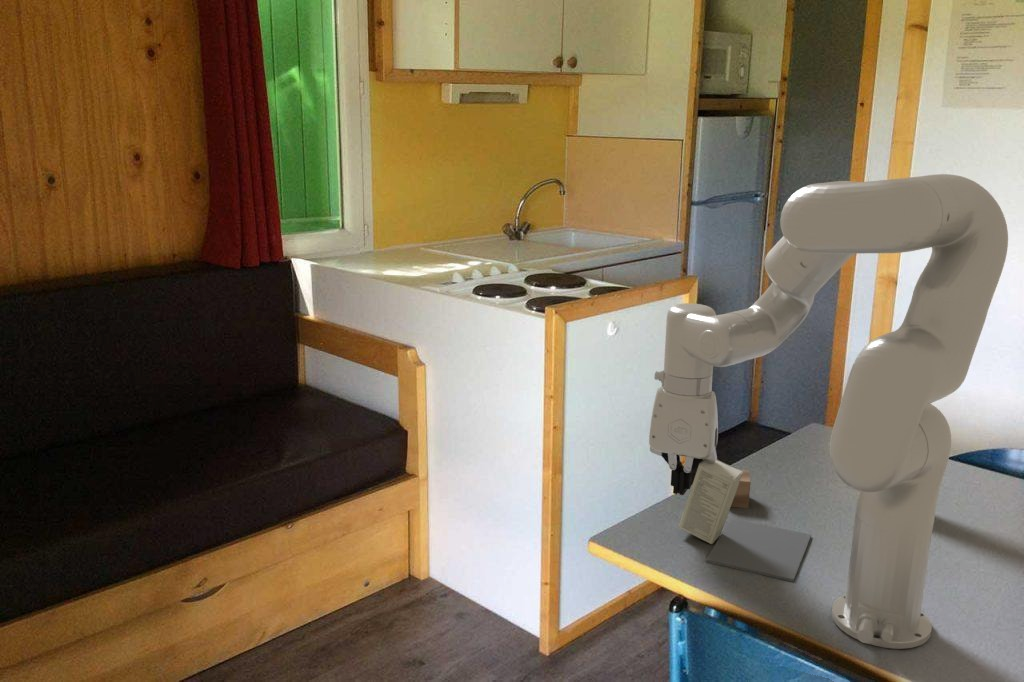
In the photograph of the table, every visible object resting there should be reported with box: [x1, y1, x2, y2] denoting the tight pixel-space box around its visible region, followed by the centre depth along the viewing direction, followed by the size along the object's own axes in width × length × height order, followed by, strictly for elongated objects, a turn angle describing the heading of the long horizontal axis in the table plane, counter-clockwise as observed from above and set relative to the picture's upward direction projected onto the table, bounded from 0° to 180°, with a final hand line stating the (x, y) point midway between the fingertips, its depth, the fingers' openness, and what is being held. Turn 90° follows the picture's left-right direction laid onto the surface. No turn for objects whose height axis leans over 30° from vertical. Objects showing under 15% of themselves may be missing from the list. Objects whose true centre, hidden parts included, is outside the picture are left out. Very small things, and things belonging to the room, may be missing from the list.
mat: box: [705, 518, 812, 583], centre depth 146 cm, size 16×13×1 cm
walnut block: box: [731, 469, 751, 509], centre depth 162 cm, size 5×5×5 cm
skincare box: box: [678, 459, 743, 545], centre depth 147 cm, size 6×4×12 cm
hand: (680, 491), depth 149 cm, fingers closed
